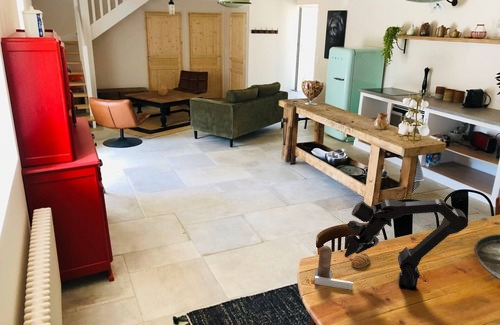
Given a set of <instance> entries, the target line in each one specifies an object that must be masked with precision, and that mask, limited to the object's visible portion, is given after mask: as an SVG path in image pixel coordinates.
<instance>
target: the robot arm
mask: <svg viewBox="0 0 500 325" xmlns="http://www.w3.org/2000/svg"><path fill="white" fill-rule="evenodd" d="M431 213H439V214H440V215H441V216H442V217H443V219H442V221H441V222H440V224H439V226H437V227H436V228H435V229H434V230H433V231H432V232H430V233H429V234H428V235H426V236H425V238H423V239H422V240H421V241H420V242H419V243H417V244H416V245H415V246H414V247H412V248H408V247H407V246H405V247H404V248H403V249H402V250H401V251H399V252H398V255H397V262H398V266H399V269H400V271H399V272H398V278H397V282H398V285H399V289H402V290H408V291H415V292H417V291H418V288H417V285H418V280H419V278H420V276H421V274H420V270H419V268H418V267H419V265H420V263H421V261H422V259H423V258H424V257H425V256H426V255H427V254H428V253H430V252H431V251H432V250H434V248H436V247H437V246H438V245H439V244H440V243H442V241H444V240H446V239H447V238H448V237H449V236H450V235H454V234H458V233H460V232H463V230H465V229H466V228H467V227H468V226H469V220H468V218H467V217H466V215H465V213H464V212H463V211H462V210H461V209H459V208H455V207H453V206H452V205H450V204H448V203H447V202H445V201H444V200H443V199H441V198H437V199H432V200H431V199H429V200H413V201H400V200H396V199H384V200H382V202H379V203H376V204H372V205H369V204H367V203H366V202H365V201H364V200H361V201H360V202H358V203H357V204H355V206H354V207H353V209H352V212H351V216H353V217H354V218H356V219H358V220H360V221H361V222H363V223H361V222H359V221H357V220H349V221H348V223H347V224H346V225H347V230H351V231H353V232H354V233H355V234H350V235H348V236H346V237H345V242H346V243H347V247H346V250H345V253H344V254H343V255H344V257H345V258H348V257H350V256H352V255H354V254H356V255H358V254H360V253H364V252H365V251H367V250H369V249H371V248H374V247H375V246H377V245H378V244H379V243H380V239H379V238H378V236H379V235H380V234H381V233H380V232H381V231H382V230H383V229H384V227H385V226H386V225H387V226H388V227H390V228H391V227H392V226H393V225H392V220H393V219H399V218H401V217H403V216H404V215H415V214H416V215H417V214H431ZM364 223H366V224H364Z"/></svg>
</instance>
